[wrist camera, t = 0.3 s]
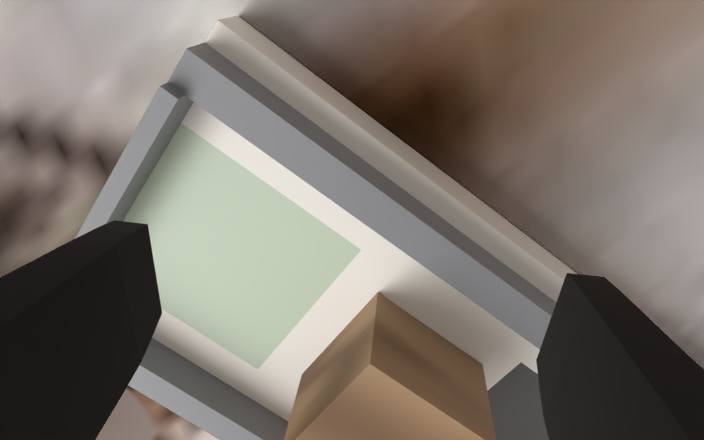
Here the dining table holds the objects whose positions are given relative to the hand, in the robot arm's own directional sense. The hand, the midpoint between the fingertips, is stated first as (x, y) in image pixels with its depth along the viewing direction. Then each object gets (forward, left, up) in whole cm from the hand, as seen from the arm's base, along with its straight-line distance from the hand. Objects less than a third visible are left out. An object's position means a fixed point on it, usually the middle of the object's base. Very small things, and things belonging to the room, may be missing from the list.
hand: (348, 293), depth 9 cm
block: (-7, -6, -9) cm, 12 cm away
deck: (-7, -6, -11) cm, 14 cm away
